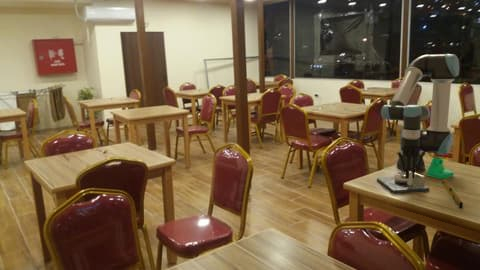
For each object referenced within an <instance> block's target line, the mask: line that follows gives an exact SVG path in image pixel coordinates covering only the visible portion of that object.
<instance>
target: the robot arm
mask: <svg viewBox="0 0 480 270" xmlns="http://www.w3.org/2000/svg"><path fill="white" fill-rule="evenodd" d="M459 61H460V60H459V58H458V56H457V55H456V54H454V53H453V54H452V53H451V54H450V53H443V54H441V53H439V54H424V55H420V56H418V57H417V58H415V59H414V60H412V61H411V63H409V64H408V66H407V67H406V68H405V70H404V77H403V78H402V80H401V82H400V84H399V86H398V88H397V90H396V91H395V94H394V95H393V98H392V99H391V101H390V103H389V104H384V105H383V106H382V107H381V110H380V115H381V118H382V119H383V120H389V121H400V122H401V121H403V127H402V128H403V129H402V130H401V132H400V133H401V134H400V148H399V151H396V154H397V156H398V158H397V161H396V168H397V169H399V170H402V172H406V173H405V177H406V178H407V184H408V185H409V186H412V178H414V174H415V173H416V172H421V171H424V170H425V168H426V164H425V161H424V160H425V159H424V156H425V155H426V153H430V154H437V155H447V154H449V152H450V151H451V150H452V146H453V143H454V134H452V133H451V129H450V128H449V127H448V123H449V111H450V102H451V101H450V100H451V86H452V83H453V82H454V81H455V77H458V76H459V74H460V62H459ZM423 77H430V81H431V82H432V92H431V93H432V94H431V95H432V97H431V108H430V109H429V107H427V106H426V105H419V104H408V102H409V101H410V98H411V97H412V95H413V92H414V90H415V88H416V86H417V85H418V83H419V81H421V80H422V78H423ZM407 104H408V105H407ZM429 118H430V122H429V123H430V124H429V126H428V127H427V128H426V131H425V130H424V128H421V127H422V126H421V125H422V123H423V122H425V121H426V120H428V119H429Z"/></svg>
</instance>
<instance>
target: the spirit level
mask: <svg viewBox="0 0 480 270" xmlns="http://www.w3.org/2000/svg"><path fill="white" fill-rule="evenodd" d="M441 183H442V185H443V187H444V188H445V190H446V191H447V193H448V194H449V195H450V196H451V198H452V200H453V201H454V203H455V204H456V205H457V207H458V209H463V207H464V202H463V201H462V200H461V199H460V197H459V196H458V194H457V193H456V192H455V190H453V187H452V186H451V185H450V183H449V182H448V181H447V179H445V178H442V179H441Z"/></svg>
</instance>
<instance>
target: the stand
mask: <svg viewBox="0 0 480 270" xmlns="http://www.w3.org/2000/svg"><path fill="white" fill-rule="evenodd" d="M405 173H406V172H405V171H402V172H398V173H397V174H405ZM376 182H378V184H380V185H381V186H382V187H383V188H385V189H386V190H388V191H389V192H390V193H391V194H392V195H402V194H403V195H405V194H416V193H419V194H420V193H429V192H430V189H431V188H430V187H429V186H427V185H426V184H424V188H419V187H417V186H414V185H412V186H409V185H408V184H407V183H398V182H396V181H395V175H394V176H382V177H381V176H380V177H376Z"/></svg>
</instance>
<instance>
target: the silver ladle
mask: <svg viewBox="0 0 480 270" xmlns="http://www.w3.org/2000/svg"><path fill="white" fill-rule="evenodd" d="M394 176H395V181H396V182H398V183H407V178H406V177H405V174H398V173H397V174H394ZM425 181H426V176H425V175H423V174H419V173H417V172H415V174H414V178H412V185H414V186H417V187H419V188H424V185H426V184H425Z"/></svg>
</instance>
